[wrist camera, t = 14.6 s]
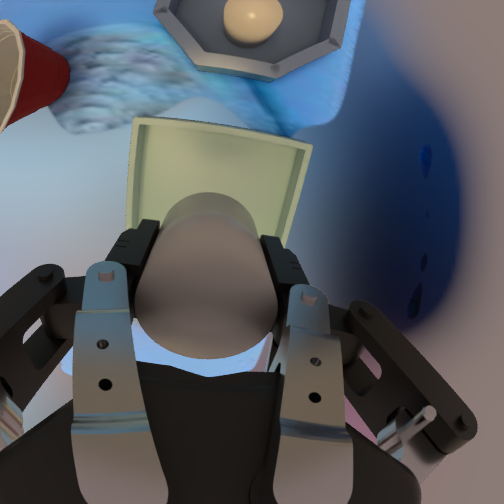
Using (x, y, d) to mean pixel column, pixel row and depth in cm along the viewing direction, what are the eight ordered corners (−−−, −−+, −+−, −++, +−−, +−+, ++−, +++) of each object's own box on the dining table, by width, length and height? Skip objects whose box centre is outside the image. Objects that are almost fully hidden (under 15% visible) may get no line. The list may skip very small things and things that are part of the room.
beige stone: (218, 43, 19) (217, 28, 15) (230, 6, 17) (232, -15, 13) (265, 53, 20) (275, 41, 16) (276, 16, 18) (288, -2, 14)
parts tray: (134, 258, 30) (127, 272, 27) (142, 115, 22) (133, 117, 20) (267, 274, 33) (271, 290, 30) (303, 141, 25) (313, 145, 23)
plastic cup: (23, 142, 21) (-48, 172, 10) (15, 62, 15) (-55, 65, 5) (97, 109, 21) (24, 121, 11) (88, 21, 16) (24, -8, 5)
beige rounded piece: (158, 272, 13) (138, 351, 9) (164, 185, 11) (131, 241, 7) (246, 282, 14) (259, 362, 10) (266, 200, 12) (295, 262, 7)
